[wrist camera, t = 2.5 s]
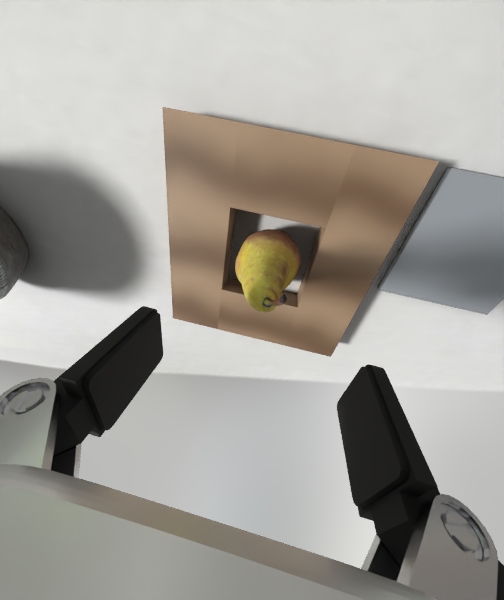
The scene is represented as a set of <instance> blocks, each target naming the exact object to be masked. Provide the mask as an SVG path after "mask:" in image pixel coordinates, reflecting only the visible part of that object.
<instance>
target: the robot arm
mask: <svg viewBox="0 0 504 600" xmlns="http://www.w3.org/2000/svg"><path fill="white" fill-rule="evenodd" d="M162 356H163V346H162V333H161V321H160V314H159V313H157V310H156V309H152V308H149V307H145V306H143V307H141V308H140V309H138V310H137V311H136V312H135V313H134V314H132V315H131V316H130V317H129V318H128V319H127V320H125V321H124V322H123V323H122V324H121V325H119V326H118V327H117V328H116V329H115V330H114V331H112V332H111V333H110V334H109V335H108V336H107V337H105V338H104V339H103V340H102V341H101V342H99V343H98V344H97V345H96V346H95V347H94V348H92V349H91V350H90V351H89V352H88V353H86V354H85V355H84V356H83V357H82V358H81V359H79V360H78V361H77V362H76V363H75V364H73V365H72V366H71V367H70V368H69V369H68V370H66V371H65V372H64V373H63V374H62V375H61V376H59V377H58V378H57V379H56V380H55V381H52V380H50V379H47V378H37V379H31V380H28V381H25V382H22V383H20V384H17V385H15V386H13V387H12V388H10V389H9V390H7V391H6V392H4V393H3V394H2V395H1V396H0V600H504V565H503V564H501V563H500V561H499V560H498V557H497V551H496V548H495V546H494V543H493V541H492V539H491V537H490V535H489V533H488V532H487V530H486V528H485V527H484V526H483V524H482V523H481V522H480V521H479V519H478V518H477V517H476V516H475V515H474V514H473V513H472V512H471V511H470V510H469V509H468V507H466V506H465V505H464V504H462V503H461V502H460V501H459V500H457V499H455V498H453V497H451V496H449V495H444V494H441V495H440V493H439V491H438V488H437V485H436V482H435V480H434V478H433V476H432V473H431V471H430V469H429V467H428V465H427V462H426V460H425V458H424V456H423V454H422V451H421V449H420V447H419V445H418V443H417V441H416V438H415V436H414V434H413V431H412V429H411V427H410V425H409V423H408V420H407V418H406V416H405V414H404V412H403V409H402V407H401V405H400V403H399V401H398V398H397V396H396V394H395V392H394V390H393V387H392V385H391V383H390V381H389V378H388V376H387V374H386V372H385V370H384V369H383V368H380V367H377V366H373V365H366V366H365V367H361V369H360V370H359V372H358V373H357V375H356V376H355V377H354V379H353V380H352V382H351V383H350V385H349V386H348V388H347V390H346V391H345V392H344V394H343V395H342V397H341V398H340V400H339V401H338V404H337V411H338V417H339V423H340V429H341V434H342V440H343V446H344V451H345V457H346V463H347V469H348V474H349V480H350V486H351V492H352V497H353V501H354V503H355V505H356V506H358V510H359V515H360V517H363V518H367V519H370V520H373V521H374V524H375V529H376V533H377V534H376V536H375V538H374V541H373V543H372V545H371V547H370V550H369V552H368V554H367V556H366V559H365V561H364V564H363V565H362V568H361V569H360V568H356V567H354V566H351V565H348V564H345V563H342V562H339V561H336V560H333V559H330V558H327V557H324V556H321V555H318V554H315V553H312V552H309V551H306V550H302V549H299V548H296V547H293V546H290V545H287V544H284V543H281V542H278V541H275V540H272V539H269V538H266V537H262V536H260V535H256V534H253V533H250V532H247V531H244V530H241V529H238V528H234V527H232V526H228V525H225V524H222V523H219V522H216V521H213V520H209V519H207V518H203V517H200V516H197V515H194V514H191V513H188V512H184V511H182V510H178V509H175V508H172V507H169V506H166V505H163V504H159V503H156V502H153V501H150V500H147V499H144V498H141V497H137V496H134V495H131V494H128V493H125V492H121V491H118V490H115V489H112V488H109V487H106V486H102V485H99V484H96V483H93V482H89V481H86V480H82V479H79V468H80V453H81V443H82V441H83V440H84V439H85V438H86V436H87V435H88V434H91V435H94V436H98V437H101V435H102V434H103V433H104V431H105V430H109V429H110V428H111V427H112V426H113V425H114V423H115V422H116V421H117V419H118V418H119V417H120V415H121V414H122V413H123V411H124V410H125V409H126V407H127V406H128V404H129V403H130V402H131V400H132V399H133V398H134V396H135V395H136V394H137V392H138V391H139V389H140V388H141V387H142V385H143V384H144V383H145V381H146V380H147V379H148V377H149V376H150V374H151V373H152V372H153V370H154V369H155V368H156V366H157V365H158V364H159V362H160V361H161V359H162Z"/></svg>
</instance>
